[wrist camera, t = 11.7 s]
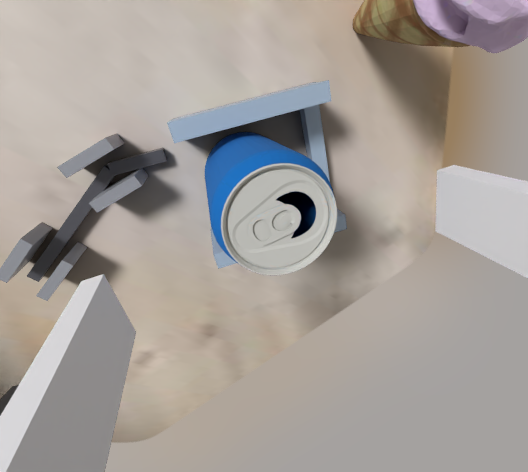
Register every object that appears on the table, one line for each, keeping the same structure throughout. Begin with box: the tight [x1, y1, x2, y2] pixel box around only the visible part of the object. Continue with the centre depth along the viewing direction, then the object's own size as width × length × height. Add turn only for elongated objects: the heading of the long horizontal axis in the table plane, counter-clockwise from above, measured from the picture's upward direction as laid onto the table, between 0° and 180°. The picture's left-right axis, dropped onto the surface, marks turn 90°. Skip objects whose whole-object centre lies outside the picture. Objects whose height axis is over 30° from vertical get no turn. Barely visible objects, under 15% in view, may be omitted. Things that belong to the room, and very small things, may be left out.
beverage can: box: [205, 132, 337, 276], centre depth 20 cm, size 6×6×12 cm
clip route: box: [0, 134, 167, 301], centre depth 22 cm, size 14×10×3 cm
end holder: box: [167, 80, 347, 269], centre depth 23 cm, size 11×10×5 cm
